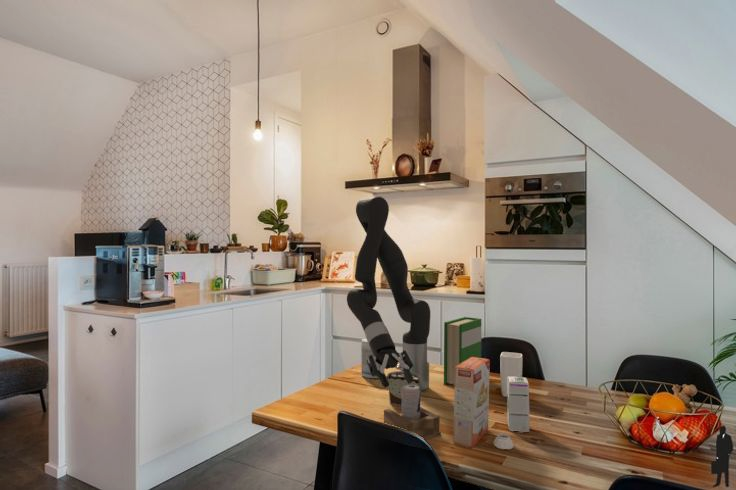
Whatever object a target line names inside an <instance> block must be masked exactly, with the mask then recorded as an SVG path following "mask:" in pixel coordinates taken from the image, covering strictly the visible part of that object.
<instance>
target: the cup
mask: <svg viewBox="0 0 736 490" xmlns="http://www.w3.org/2000/svg"><path fill="white" fill-rule="evenodd" d="M499 361H500V363H499V364H500V365H499V366H500V367H499V369H500V370H499V372H500V375H499V376H500V387H501V396H503V397H504V398H507V377H512V376H516V377H523V353H519V352H509V351H502V352H501V353H500V356H499Z"/></svg>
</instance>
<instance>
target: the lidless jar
mask: <svg viewBox="0 0 736 490" xmlns="http://www.w3.org/2000/svg"><path fill="white" fill-rule="evenodd" d="M493 445H494V447H496V448H497V449H501V450H504V449H508V450H512V449H513V448H514V442H513V441H512V439H511V437H510V435H509V434H507V433H502V432H501V433H500V432H499V433H498V434H497V436H496V438H495V439H494V441H493Z"/></svg>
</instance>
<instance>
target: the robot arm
mask: <svg viewBox="0 0 736 490" xmlns="http://www.w3.org/2000/svg"><path fill="white" fill-rule="evenodd" d="M389 213H390V207H389V203H388V201H387V200H386V199H385V198H383V196H370V197H363V198H361V199H359V200H358V201H357V204H356V205H355V214H356V217H357V219H358V221H359V223H360V225H361V226H362V228H363V230H364V232H365V233H366V235H365V238H364V241H363V242H362V245H361V246H360V249H359V252H358V255H357V258H356V262H355V272H354V280H355V281H356V282H359V283H360V284H362V289H360V288H354V289H351V290H349V291H348V293H347V295H346V303H347V306H348V308H349V311H351V313H352V314H353V315H354V317H355V318H356V319H357V320H358V321H359V322H360V324H361V326H362V327H361V328H362V329H363V331H364V335H365V338H366V339H367V341H368V344H369V346H370V348H371V351H372V353H373V355H374V357H373V356H372V355H370V356H369V357H368V359H367V364H368V367H369V369H370V372H371V375H372V376H373V377H374V376H377V377H379V378H378V379H379V382H380V384H381V386H382V387H384V389H387V388H389V382H388V379H387V375H386V373H385V370H388V369H396V370H398V371H402V372H403V373H404V376H405V378H406V381H407V383H408V384H410V383H411V382H412V381H413V377H412V375H411V372H413V373H416V374H418V375H420V378H421V381H422V384H421V385H420V386H419V387H420V392H422V391H426V390H427V389H429V388H430V363H429V361H428V337H429V335H430V330H431V329H430V328H431V327H430V326H431V309H430V304H429V303H428V302H427V301H426V300H423V299H417V298H414V297H413V296H412V294H411V291H410V289H409V285H408V273H409V267H408V266H409V265H408V263H407V261H406V259H405V256H404V253H403V251H402V249H401V248H400V246H399V245H398V244H397V243H396V241H394V239H393V238H392V237H391V236H390V235H389V234H388V233H387V231H386V229H385V228H386V225H387V221H388V217H389ZM377 261H378V262H377ZM377 263H379V267H380V268H381V269H382V270H381V271H382V272H383V274H384V276H385V279H386V282H387V284H388V286H389V288H390V291H391V294H392V296H393V300H394V302H395V306H396V309H397V312H398V315H399V317H400V319H401V320H402V321H403V322H406V323H408V324H410V326H409V330H408V332H403V335H402V351H401V352H398V351H397V350H396V345H395V342H394V340H393V338H392V337H391V334H390V332H389V330H388V328H387V326H386V325H385V322H384V321H383V318H382V316H381V315H380V313H379V311H378V310H376V309H374V308H375V307H376V305H377V302H378V293H377V286H376V285H377V284H376V278H375V277H376V269H377ZM375 361H376V362H377V363H378V364H380V365H379V369H377V367H376V364H375Z"/></svg>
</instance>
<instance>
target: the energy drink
mask: <svg viewBox="0 0 736 490" xmlns="http://www.w3.org/2000/svg"><path fill="white" fill-rule="evenodd" d="M420 407H421V391H420V387H419V386H418V385H415V384H406V385H403V387H402V406H401V414H400V415H401V416H402V417H404V418H406V419H407V420H414V419H418V418H420Z"/></svg>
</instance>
